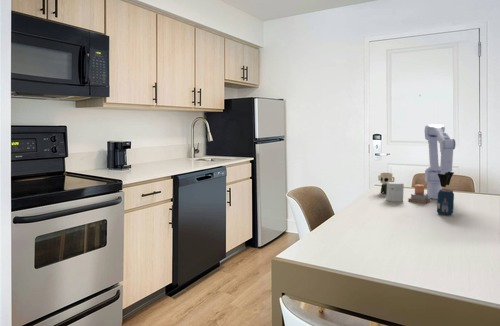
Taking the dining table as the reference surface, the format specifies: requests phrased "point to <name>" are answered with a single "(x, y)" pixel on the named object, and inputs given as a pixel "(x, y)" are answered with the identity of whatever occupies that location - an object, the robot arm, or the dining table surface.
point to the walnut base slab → (419, 200)
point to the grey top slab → (419, 196)
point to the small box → (395, 191)
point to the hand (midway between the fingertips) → (445, 185)
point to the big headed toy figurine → (385, 181)
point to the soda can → (445, 202)
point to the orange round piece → (419, 189)
